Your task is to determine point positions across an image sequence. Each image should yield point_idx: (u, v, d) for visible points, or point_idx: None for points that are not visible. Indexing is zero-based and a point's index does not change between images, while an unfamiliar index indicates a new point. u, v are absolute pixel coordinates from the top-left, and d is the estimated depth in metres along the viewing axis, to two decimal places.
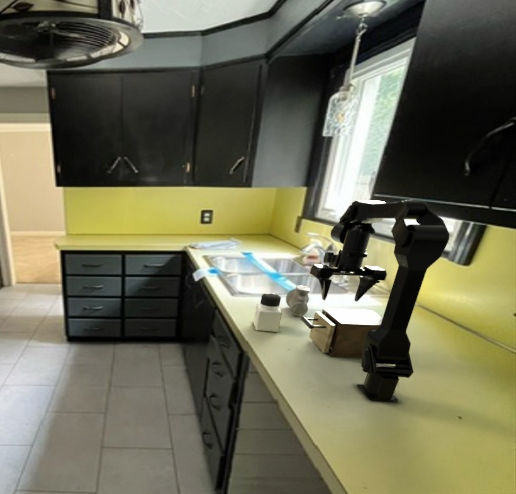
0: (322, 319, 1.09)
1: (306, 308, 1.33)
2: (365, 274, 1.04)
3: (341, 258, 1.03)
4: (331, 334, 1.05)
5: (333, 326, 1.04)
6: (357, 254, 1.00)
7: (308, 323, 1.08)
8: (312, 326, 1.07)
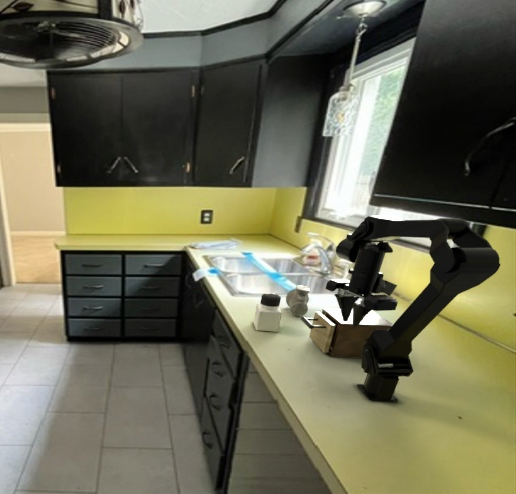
0: (322, 319, 1.09)
1: (306, 308, 1.33)
2: None
3: None
4: (331, 334, 1.05)
5: (333, 326, 1.04)
6: (354, 272, 0.93)
7: (308, 323, 1.08)
8: (312, 326, 1.07)
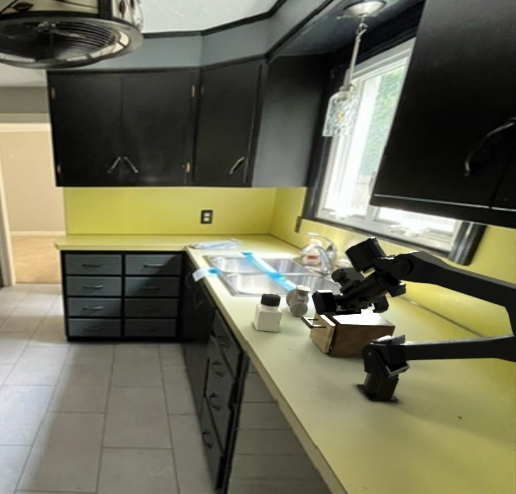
0: (322, 319, 1.09)
1: (306, 308, 1.33)
2: None
3: (351, 295, 0.89)
4: (331, 334, 1.05)
5: (333, 326, 1.04)
6: (369, 301, 0.87)
7: (308, 323, 1.08)
8: (312, 326, 1.07)
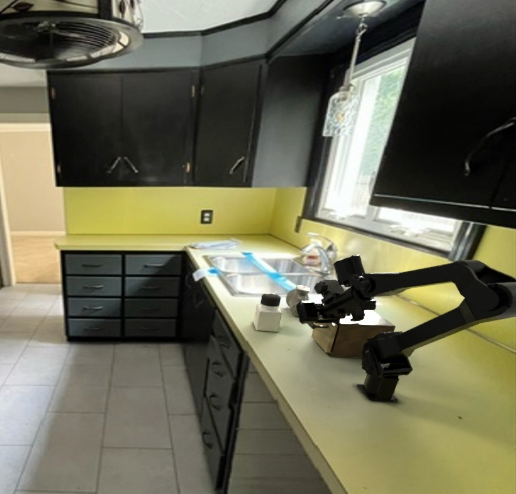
0: None
1: None
2: None
3: (331, 306, 0.98)
4: (333, 334, 1.05)
5: (335, 326, 1.04)
6: (347, 312, 0.96)
7: (310, 323, 1.08)
8: (314, 326, 1.07)
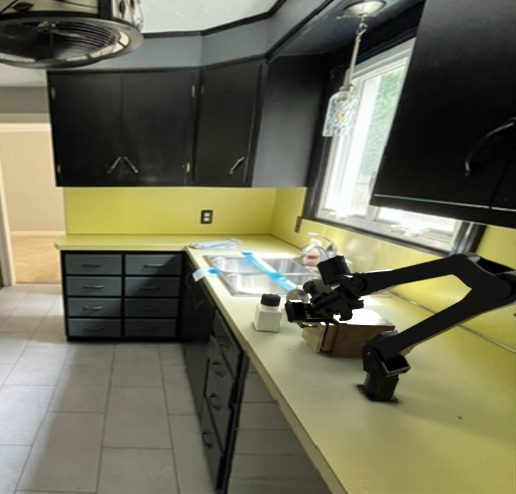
0: None
1: None
2: None
3: (319, 306, 0.98)
4: (322, 334, 1.05)
5: (324, 326, 1.04)
6: (334, 312, 0.96)
7: (299, 323, 1.08)
8: (303, 326, 1.07)
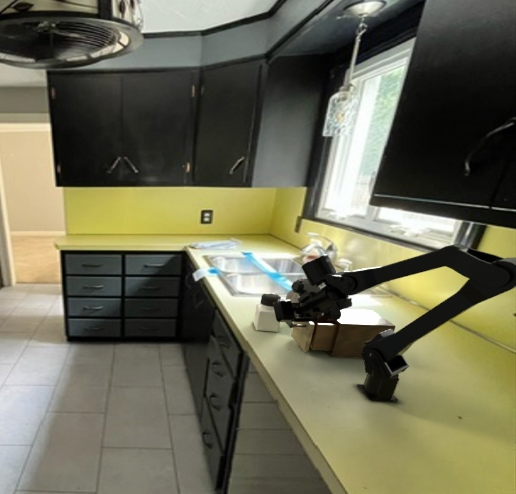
0: None
1: None
2: None
3: (307, 305, 0.99)
4: (311, 333, 1.05)
5: (312, 325, 1.04)
6: (322, 311, 0.97)
7: (288, 322, 1.09)
8: (292, 325, 1.07)
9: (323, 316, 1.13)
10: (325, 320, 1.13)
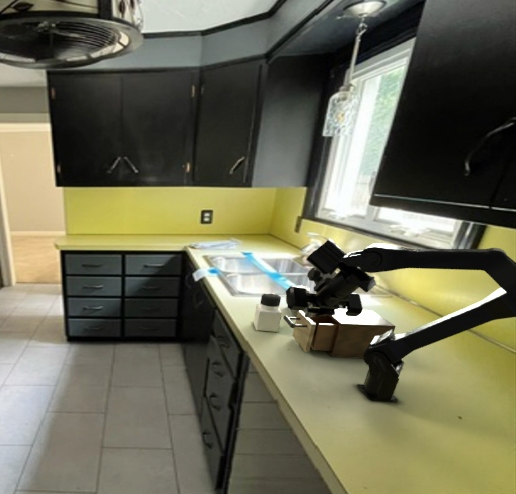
0: (304, 318, 1.10)
1: (306, 308, 1.33)
2: None
3: (322, 292, 0.91)
4: (312, 333, 1.05)
5: (314, 325, 1.04)
6: (338, 298, 0.88)
7: (290, 322, 1.09)
8: (293, 325, 1.07)
9: (324, 316, 1.13)
10: (326, 320, 1.13)
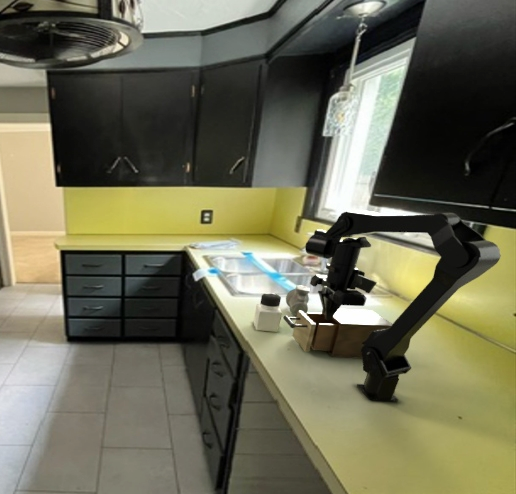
0: (304, 318, 1.10)
1: (306, 308, 1.33)
2: None
3: None
4: (312, 333, 1.05)
5: (314, 325, 1.04)
6: (329, 267, 0.93)
7: (290, 322, 1.09)
8: (293, 325, 1.07)
9: (324, 316, 1.13)
10: (326, 320, 1.13)
